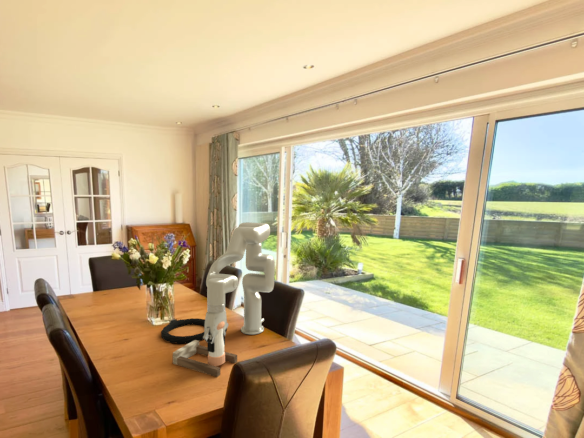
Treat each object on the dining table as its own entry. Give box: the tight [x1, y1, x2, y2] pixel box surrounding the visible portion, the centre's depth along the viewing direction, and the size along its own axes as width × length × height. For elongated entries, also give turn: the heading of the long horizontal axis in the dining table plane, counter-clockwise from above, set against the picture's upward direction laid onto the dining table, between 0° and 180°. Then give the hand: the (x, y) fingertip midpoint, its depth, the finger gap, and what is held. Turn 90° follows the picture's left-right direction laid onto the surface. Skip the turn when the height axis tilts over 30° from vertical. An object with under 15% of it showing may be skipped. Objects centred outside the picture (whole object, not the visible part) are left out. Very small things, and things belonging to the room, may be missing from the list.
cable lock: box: [160, 318, 205, 345], centre depth 171 cm, size 28×4×30 cm
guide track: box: [172, 340, 238, 378], centre depth 139 cm, size 14×24×5 cm, turn 65°
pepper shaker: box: [207, 321, 226, 367], centre depth 137 cm, size 7×7×19 cm
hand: (216, 347), depth 137 cm, fingers closed on pepper shaker, 6 cm apart
